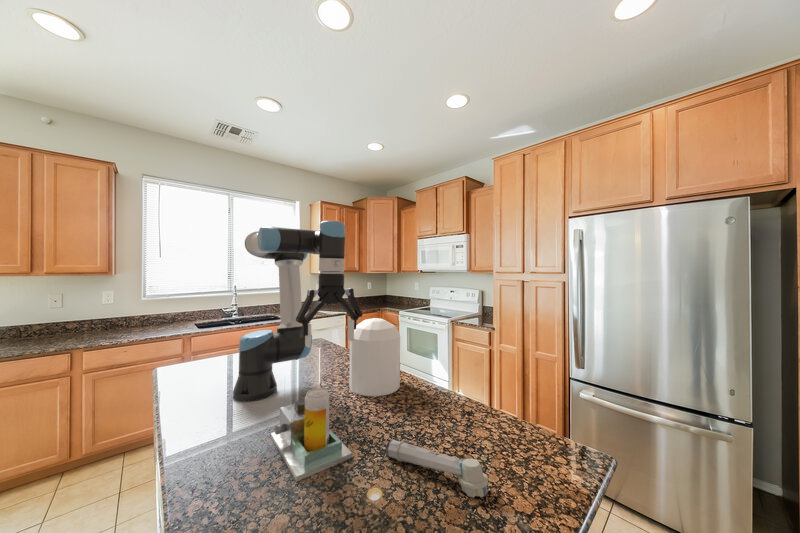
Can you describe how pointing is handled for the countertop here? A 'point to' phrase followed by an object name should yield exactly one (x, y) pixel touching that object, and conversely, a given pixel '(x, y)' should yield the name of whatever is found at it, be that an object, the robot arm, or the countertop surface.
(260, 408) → the countertop surface
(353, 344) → the container
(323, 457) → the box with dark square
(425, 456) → the toothbrush head
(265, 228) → the robot arm
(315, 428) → the soda can
